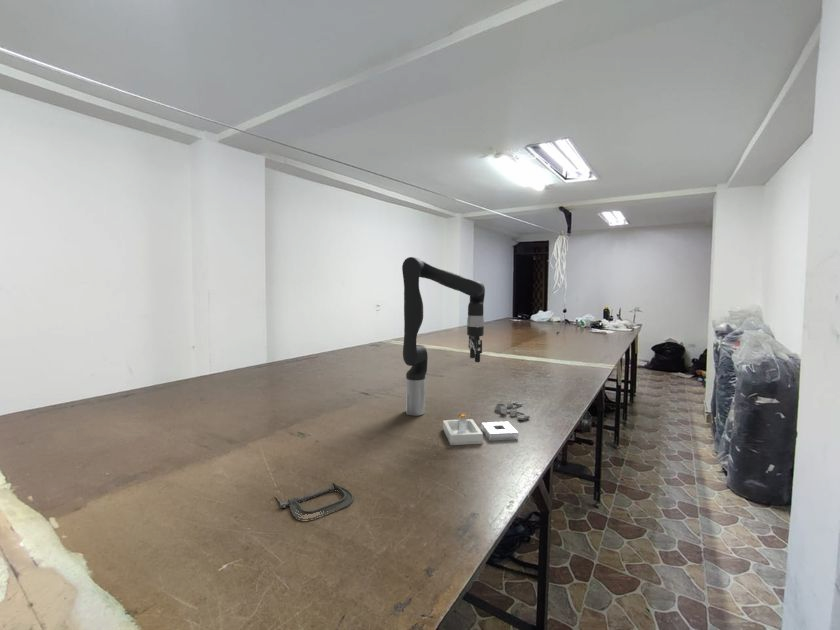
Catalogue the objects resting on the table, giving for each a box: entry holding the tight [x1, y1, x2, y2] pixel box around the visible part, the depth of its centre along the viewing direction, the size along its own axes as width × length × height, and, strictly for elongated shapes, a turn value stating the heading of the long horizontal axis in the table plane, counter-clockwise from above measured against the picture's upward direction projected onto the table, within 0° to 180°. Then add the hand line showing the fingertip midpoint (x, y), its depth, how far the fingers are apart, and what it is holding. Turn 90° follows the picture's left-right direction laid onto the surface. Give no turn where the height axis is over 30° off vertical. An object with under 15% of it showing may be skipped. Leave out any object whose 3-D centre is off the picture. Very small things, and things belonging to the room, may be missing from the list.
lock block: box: [480, 421, 519, 442], centre depth 159 cm, size 12×12×3 cm
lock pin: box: [457, 413, 468, 433], centre depth 157 cm, size 4×4×8 cm
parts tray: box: [442, 418, 484, 446], centre depth 157 cm, size 13×16×4 cm
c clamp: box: [278, 482, 354, 520], centre depth 110 cm, size 20×17×3 cm
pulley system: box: [494, 400, 530, 421], centre depth 187 cm, size 27×5×15 cm
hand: (474, 360), depth 174 cm, fingers open, 8 cm apart
